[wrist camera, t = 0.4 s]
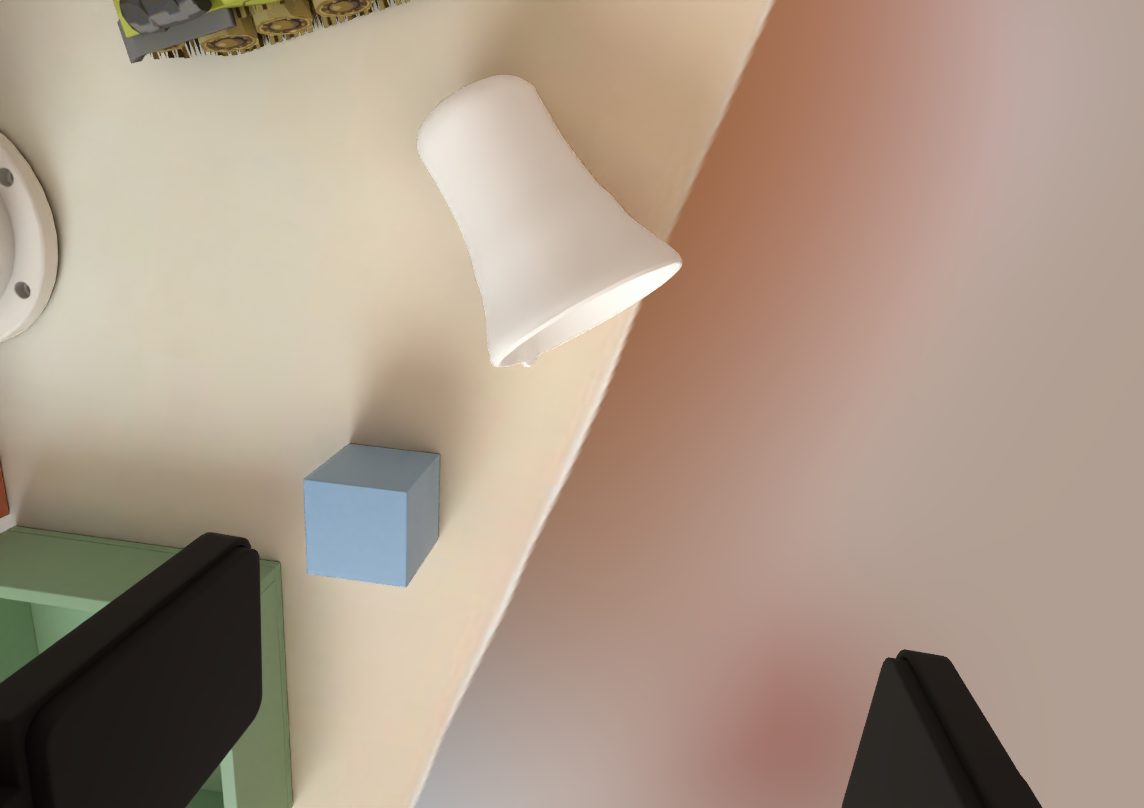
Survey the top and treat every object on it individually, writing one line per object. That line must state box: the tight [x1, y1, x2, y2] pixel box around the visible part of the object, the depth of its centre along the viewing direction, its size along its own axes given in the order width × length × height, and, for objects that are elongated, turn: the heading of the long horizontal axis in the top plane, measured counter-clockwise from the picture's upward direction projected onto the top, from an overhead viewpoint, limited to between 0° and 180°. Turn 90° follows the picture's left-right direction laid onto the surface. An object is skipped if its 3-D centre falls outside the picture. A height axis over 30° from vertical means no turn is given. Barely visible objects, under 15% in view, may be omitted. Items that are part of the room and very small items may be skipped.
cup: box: [417, 75, 682, 368], centre depth 30 cm, size 9×9×10 cm
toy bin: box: [0, 526, 293, 808], centre depth 41 cm, size 18×17×6 cm
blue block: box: [304, 444, 440, 587], centre depth 36 cm, size 5×5×5 cm
